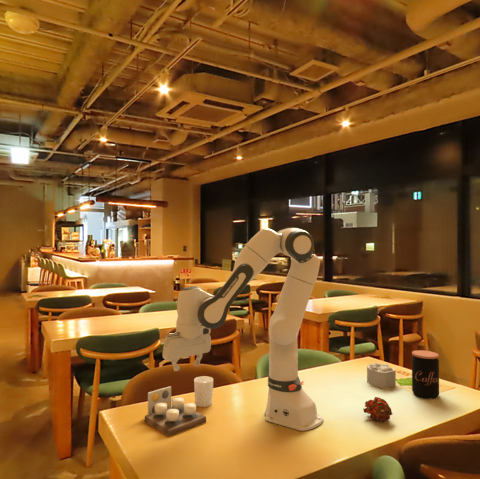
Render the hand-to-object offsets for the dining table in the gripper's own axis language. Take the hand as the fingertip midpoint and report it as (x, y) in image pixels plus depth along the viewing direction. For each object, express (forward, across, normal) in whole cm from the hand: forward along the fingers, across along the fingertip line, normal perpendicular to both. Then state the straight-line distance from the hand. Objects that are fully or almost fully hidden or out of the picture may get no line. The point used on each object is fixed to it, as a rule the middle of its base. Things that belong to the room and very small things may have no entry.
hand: (186, 368), depth 145 cm
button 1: (+16, +1, -2) cm, 16 cm away
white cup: (+20, +16, +8) cm, 26 cm away
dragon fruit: (+18, +51, -50) cm, 74 cm away
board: (+20, -3, +2) cm, 20 cm away
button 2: (+16, -7, -1) cm, 17 cm away
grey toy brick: (+17, +90, -34) cm, 97 cm away
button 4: (+16, -6, +6) cm, 19 cm away
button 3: (+16, +1, +6) cm, 17 cm away
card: (+20, -2, +13) cm, 24 cm away
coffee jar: (+16, +89, -55) cm, 106 cm away
